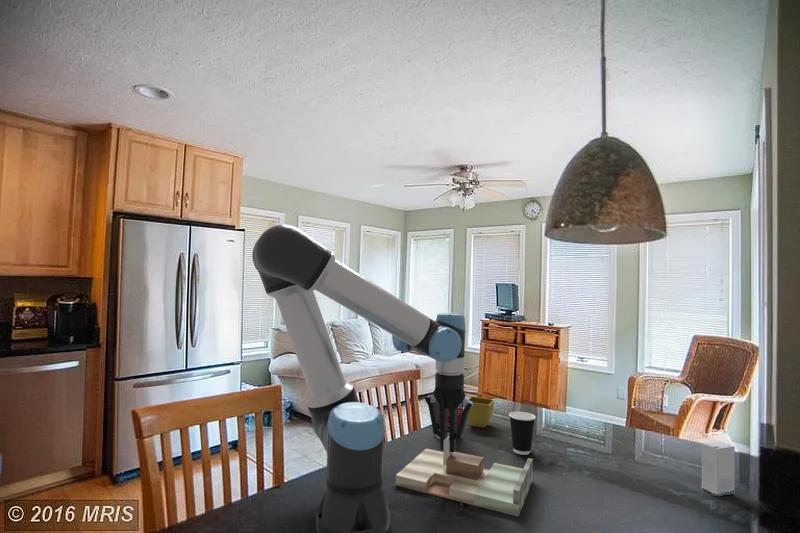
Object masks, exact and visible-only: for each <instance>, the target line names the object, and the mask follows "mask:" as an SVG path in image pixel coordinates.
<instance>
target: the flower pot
mask: <svg viewBox="0 0 800 533" xmlns="http://www.w3.org/2000/svg"><path fill="white" fill-rule="evenodd" d="M467 399H468V400H469V401H473V402H474V405H473V406H472V408H471V409H470V411H469V415H468V418H467V422H468V423H469V425H470V427H471V426H472V427H476V428H483V429H484V428H486V427H487V426H488V424H489V422H490V421H491V418H492V415H493V411H494V405H495V399H493V398H487V397H480V396H470V397H468V398H467Z"/></svg>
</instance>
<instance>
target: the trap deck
mask: <svg viewBox="0 0 800 533" xmlns="http://www.w3.org/2000/svg"><path fill="white" fill-rule="evenodd" d="M443 452H444V451H441V450H435V449H429V448H425V449H424V450H422V452H420V453H419V454H418V455H417V456H416V457H415V458H413V459H412V460H411V461H410V462H409V463H408V464H407V465H405V466H404V467H403V468H402V469H401V470H399V472H397V473H396V474H395V486H397V487H401V488H404V489H409V490H412V491H417V492H420V493H424V494H428V495H433V496H436V497H439V498H445V499H447V500H452V501H456V502H458V503H459V502H460V503H464V504H467V505H470V506H474V507H478V506H479V508H482V507H483V508H484V509H487V510H491V511H494V512H499V513H502V514H506V515H511V516H514V517H519V516H520V514H521V511H522V508H523V506H524V504H525V501H526V499H527V496H528V494H529V490H530V489H531V488H530V487H531V485H532V483H533V471H534V470H533V464H534V463H533V462H534V458H529V457H528V458H527V459H526V462H525V464H524V466H523V468H521V467H517V466H513V465H512V466H511V465H507V464H502V463H497V462H494V463H493V465H492V466H491V467H490V468H489V469H488V468H484V467H483V472H482V474H481V476H480V477H479V479H478V480H473V479H468V478H464V477H459V476H455V475H450V474H446V466H445V465H443Z"/></svg>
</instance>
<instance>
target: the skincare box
mask: <svg viewBox="0 0 800 533" xmlns="http://www.w3.org/2000/svg"><path fill="white" fill-rule="evenodd" d="M735 448H736V447H735V446H734V445H731V444H729V443H725V442H722V441H710V442H702V443H701V489H702V488H704V489H706V490H708V491H710V492H712V493H715V494H721V493H725V492H730V491H733V490H734V491H735V471H736V470H735V457H736V456H735V455H736V454H735Z"/></svg>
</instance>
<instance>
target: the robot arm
mask: <svg viewBox="0 0 800 533" xmlns="http://www.w3.org/2000/svg"><path fill="white" fill-rule="evenodd" d="M251 256H252V262H253V265H254V268H255V270H257V273H258V274H259V277H260V280H261V283H262V285H263V287H264V291H265V294H266V295H267V296H269V297H271V298H273V299H274V300H275V301H276V303H277V306H278V308H279V311H280V315H281V317H282V319H283V323H284V326H285V328H286V331H287V333H288V337H289V339H290V342H291V344H292V348H293V350H294V353H295V356H296V358H297V362H298V365H299V367H300V369H301V372H302V376H303V378H304V381H305V384H306V386H307V389H308V393H309V397H308V399H307V401H306V406H307V408H308V412H309V414H310V417H311V423H312V427H313V431H314V433H315V435H316V436H317V438H318V439H319V440H320V443H321V444H322V446H323V449H324V450H325V451H326V474H325V475H326V476H325V478H326V481H325V489H324V491H323V494H322V497H321V499H320V503H319V505H318V509H317V511H316V516H315V529H316V532H317V533H387V532H388V531H389V528H390V510H389V506H388V502H387V498H386V495H385V491H384V487H383V472H384V470H383V469H384V468H383V467H384V444H385V433H386V428H385V419H384V415H383V413H382V411H381V410H380V409H379V408H378V407H376V406H374V405H372V404H368V403H365V402H360V400H359V397H358V394H357V391H356V388H355V386H354V384H353V383H352V382H350V381H347V380H346V379H345V376H344V375H343V374H344V373H343V370H342V369H341V365H340V363H339V360H338V356H337V354H336V351H335V349H334V346H333V343H332V340H331V336H330V335H329V331H328V328H327V326H326V323H325V320H324V317H323V314H322V312H321V308H320V306H319V303H318V300H317V297H316V295H315V292H314V291H316V292H319V293H320V294H322V295H324V296H326V297H327V298H329V299H330V300H332V301H334V302H336V303H337V304H339V305H340V306H342V307H344V308H346V309H347V310H349V311H351V312H352V313H355V314H356V315H358V316H359V317H361V318H363V319H365V320H366V321H368V322H369V323H371V324H373V325H375V326H376V327H378V328H379V329H382V330H383V331H385V332H387V333H389V334H391V339H392V345H393V347H394V349H395V350H396V351H398V352H405V353H406V352H407V353H408V352H414V353H418V354H419V355H423V356H426V357H429V358H431V359H433V360H435V371H436V372H435V377H434V385H435V386H434V390H433V393H432V394H429V395H427V396H425V397H424V401H425V404H427V406H428V411H429V416H430V422H431V427H432V432H433V435H434V434H435V435H438V436H439V437H440V439H439V443H440V445H439V449H440V451H441V452H443V465H445V466H446V465H447V459H448V457H449V456H450V455H451V454H452V453H453V452H456V448H457V440H460V439H462V438H463V437H464V432H465V429H466V426H467V422H468V419H467V418H468V415H469V411H470V409H471V408H472V406H473V405H474V402H473V401H469V400H468V399H469V398H467V397H466V393H465V385H464V384H465V375H464V372H465V353H466V352H465V349H466V347H465V346H466V333H467V331H466V317H465V316H464V315H463V314H462V313H454V312H453V313H452V312H440V313H438V314H437V315H436V318H435V320H434V319H432V318H430V317H429V316H427V315H425V314H424V313H422V312H421V311H419V310H418V309H416V308H414V307H413V306H411V305H410V304H408V303H406V302H405V301H403V300H401V298H398V297H397V296H395V295H393V294H392V293H391V292H389V291H387V290H386V289H384V288H383V287H381V286H380V285H377V283H375V282H373V281H371V280H369V278H367V277H365V276H363V275H362V274H360V273H358V272H357V271H355V270H353V269H352V268H351V267H349V266H347V265H346V264H344V263H342V262H341V261H340V260H337V259H336V257H335V254H334V251H333V250H331V249H329V248H328V247H326V246H325V245H323V244H322V243H320V242H318V240H316V239H315V238H313V237H312V236H310V235H309V234H307V233H306V232H305V231H303V230H302V229H300V228H298V227H296V226H294V225H289V224H279V225H278V224H277V225H274V226H271V227H269V228H268V229H266V230H264V232H262V233H261V235H260V236H259V238H258V239H257V240H256V242H255V243H254V245H253V250H252V255H251ZM435 398H436V399H435ZM436 400H437V402H438V403H439V405H440V423H439V418H438V413H437V408H436V403H435V401H436ZM462 402H463V412H462V415H461V419H460V423H459V427H458V430H457V411H458V407H459V405H460V404H461V403H462ZM448 409H449V413H450V428H449V437H448V436H447V434H448V433H447V422H448ZM435 435H434V436H435ZM461 437H462V438H461Z"/></svg>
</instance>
